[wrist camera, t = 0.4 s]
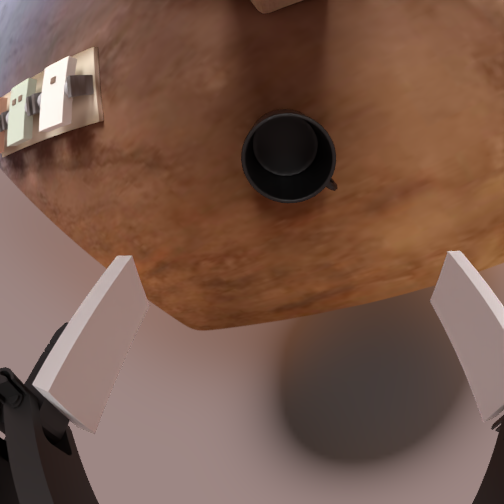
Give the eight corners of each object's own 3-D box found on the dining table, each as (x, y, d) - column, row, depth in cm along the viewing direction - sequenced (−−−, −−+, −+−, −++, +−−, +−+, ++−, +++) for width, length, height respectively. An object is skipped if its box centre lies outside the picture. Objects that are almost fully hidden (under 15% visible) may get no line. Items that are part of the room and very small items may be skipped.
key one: (51, 72, 25) (41, 69, 23) (81, 58, 25) (71, 53, 22) (46, 133, 28) (35, 132, 26) (75, 122, 28) (64, 120, 25)
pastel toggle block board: (-1, 101, 28) (-25, 108, 23) (98, 47, 26) (71, 44, 20) (6, 155, 34) (-16, 166, 29) (103, 120, 32) (77, 128, 27)
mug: (307, 202, 37) (316, 232, 30) (234, 152, 35) (223, 170, 27) (350, 150, 33) (372, 168, 25) (276, 95, 30) (277, 93, 22)
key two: (18, 91, 26) (8, 90, 24) (40, 78, 25) (30, 76, 23) (14, 146, 29) (4, 147, 27) (35, 137, 28) (24, 137, 26)
